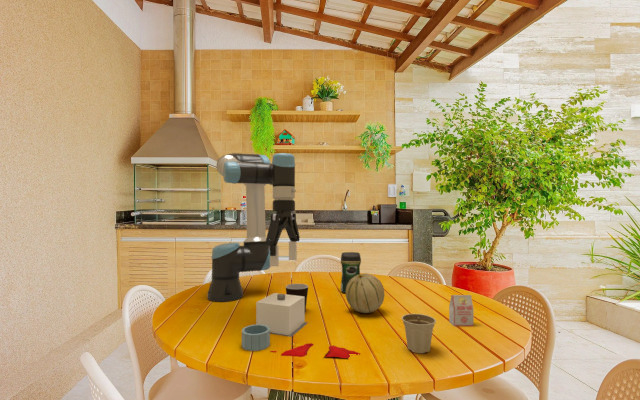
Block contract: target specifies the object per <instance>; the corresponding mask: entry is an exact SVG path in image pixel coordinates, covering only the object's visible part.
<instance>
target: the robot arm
mask: <svg viewBox="0 0 640 400" xmlns="http://www.w3.org/2000/svg"><path fill="white" fill-rule="evenodd" d="M295 159H296V158H295V155H294V154H293V153H286V152H281V153H280V152H279V153H275V154H273V156H272V161H270V159H269V156H267V155H265V154H259V153H257V154H256V153H251V154H250V153H239V152H237V153H236V152H233V153H228V154H224V155H222V156H220V158H219V159H218V160H217V163H216V171H217V172H218V173H219V174H220V175H221V176H222V177H223V181H224V183H227V184H234V185H236V184H243V185H244V186H245V198H246V199H245V208H246V238H245V239H244V240H243V245H241V244H240V243H239V242H228V243H222V244H218V245H215V246H214V247H213V248H212V249H211V250H212V251H211V281H210V284H209V288H208V291H207V293H206V294H207V297H206V298H207V300H209V301H211V302H217V303H218V302H220V303H222V302H231V301H235V300H239V299H242V298H243V297H244V290H243V287H242V284H241V280H240V273H245V272H256V271H257V272H258V271H259V272H260V271H261V272H262V271H267V270H269V269H270V268H272V267H279V263H280V262H279V261H280V257H279V255H280V252H279V250H280V249H279V248H280V246H279V244H278V242H279V241H280V237H281V234H282V232H283V230H284V229H285V230H286V234H287V236H288V239H289V241H288V261H297V259H298V257H297V254H298V251H297V248H298V247H297V243H298V242H300V232H299V227H298V223H297V217H296V213H292V212H295V210H296V201H295V200H294V199H295V198H296V176H295V175H296V162H295V161H296V160H295ZM266 185H270V186H272V199H273V201H272V211H273V212H275V213H271V214H270V221H269V222H270V223H269V225H268V226H269V227H268V229H267V230H268V231H267V235H266V196H265V194H266V193H265V191H266V190H265V187H266Z"/></svg>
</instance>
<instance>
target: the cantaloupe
mask: <svg viewBox="0 0 640 400" xmlns="http://www.w3.org/2000/svg"><path fill="white" fill-rule="evenodd" d="M345 298H346V301H347V303H348V305H349V306H350V309H351V308H352V309H353V310H354V311H356V312H358V313H361V314H371V313H374V312H375V311H377V310H378V309H379V308H381V306H382V305H383V303H384V300H385V289H384V286H383V283H382V282H381V280H380V279H379V278H377V277H376V276H375V275H373V274H370V273H360V274H359V275H356V276H355V277H353V278H352V279H350V281H349V282H348V284H347V287H346V293H345Z"/></svg>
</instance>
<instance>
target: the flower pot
mask: <svg viewBox="0 0 640 400" xmlns="http://www.w3.org/2000/svg"><path fill="white" fill-rule="evenodd" d="M401 320H402V321H403V325H404V330H405V331H404V332H405V338H406V345H407V349H408V350H410V351H411V352H413V353H416V354H425V353H429V352H430V351H431V344H432V338H433V332H434V331H433V330H434V327H435V324H436V323H437V321H436V318H434V317H432V316H430V315H428V314H422V313H408V314H404V315H402V316H401Z"/></svg>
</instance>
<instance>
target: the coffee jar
mask: <svg viewBox="0 0 640 400" xmlns="http://www.w3.org/2000/svg"><path fill="white" fill-rule="evenodd" d="M361 263H362V258H361V253H360V252H356V251H354V252H353V251H347V252H342V253H341V256H340V264H341V281H340V292H342V293H343V294H346V287H347V284H348V282H349V281H350V279H352V278H353V277H355V276H356V275H359V274H361V271H360V270H361V269H360V266H361Z"/></svg>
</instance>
